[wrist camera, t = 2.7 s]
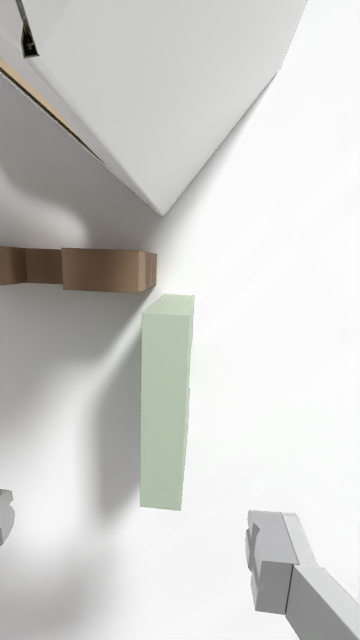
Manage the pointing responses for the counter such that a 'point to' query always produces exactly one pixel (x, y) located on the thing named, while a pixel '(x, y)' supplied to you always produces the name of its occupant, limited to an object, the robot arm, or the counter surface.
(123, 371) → the counter surface
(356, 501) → the counter surface
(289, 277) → the counter surface
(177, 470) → the crosspiece
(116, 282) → the upright
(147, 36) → the gable box
